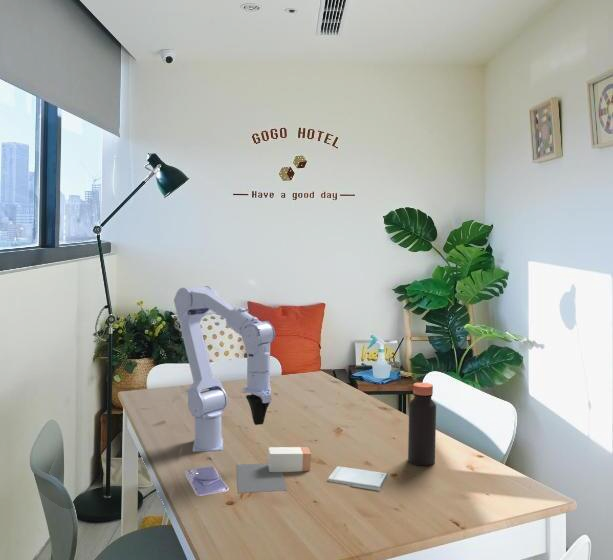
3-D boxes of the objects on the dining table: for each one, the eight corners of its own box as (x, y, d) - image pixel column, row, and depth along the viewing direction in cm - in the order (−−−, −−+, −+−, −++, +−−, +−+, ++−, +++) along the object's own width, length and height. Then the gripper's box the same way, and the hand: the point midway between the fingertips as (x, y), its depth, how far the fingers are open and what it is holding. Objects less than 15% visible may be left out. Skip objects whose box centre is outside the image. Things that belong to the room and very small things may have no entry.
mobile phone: (196, 495, 122) (182, 469, 136) (196, 499, 122) (182, 473, 136) (230, 489, 125) (213, 464, 139) (230, 493, 125) (213, 468, 139)
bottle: (423, 454, 148) (425, 380, 147) (440, 463, 142) (442, 386, 141) (402, 458, 145) (404, 383, 144) (419, 468, 139) (420, 389, 138)
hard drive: (387, 472, 134) (337, 464, 138) (380, 486, 126) (327, 477, 130) (387, 479, 134) (337, 471, 138) (379, 493, 126) (327, 484, 131)
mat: (236, 466, 140) (236, 464, 140) (280, 463, 141) (280, 462, 141) (237, 494, 124) (237, 492, 124) (287, 491, 126) (287, 490, 126)
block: (268, 447, 139) (308, 447, 141) (267, 464, 140) (307, 464, 141) (270, 453, 135) (310, 453, 136) (269, 472, 135) (310, 471, 137)
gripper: (236, 365, 145) (236, 417, 146) (250, 378, 131) (250, 434, 132) (262, 363, 147) (262, 414, 148) (279, 375, 134) (279, 431, 135)
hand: (258, 423), depth 140 cm, fingers closed
